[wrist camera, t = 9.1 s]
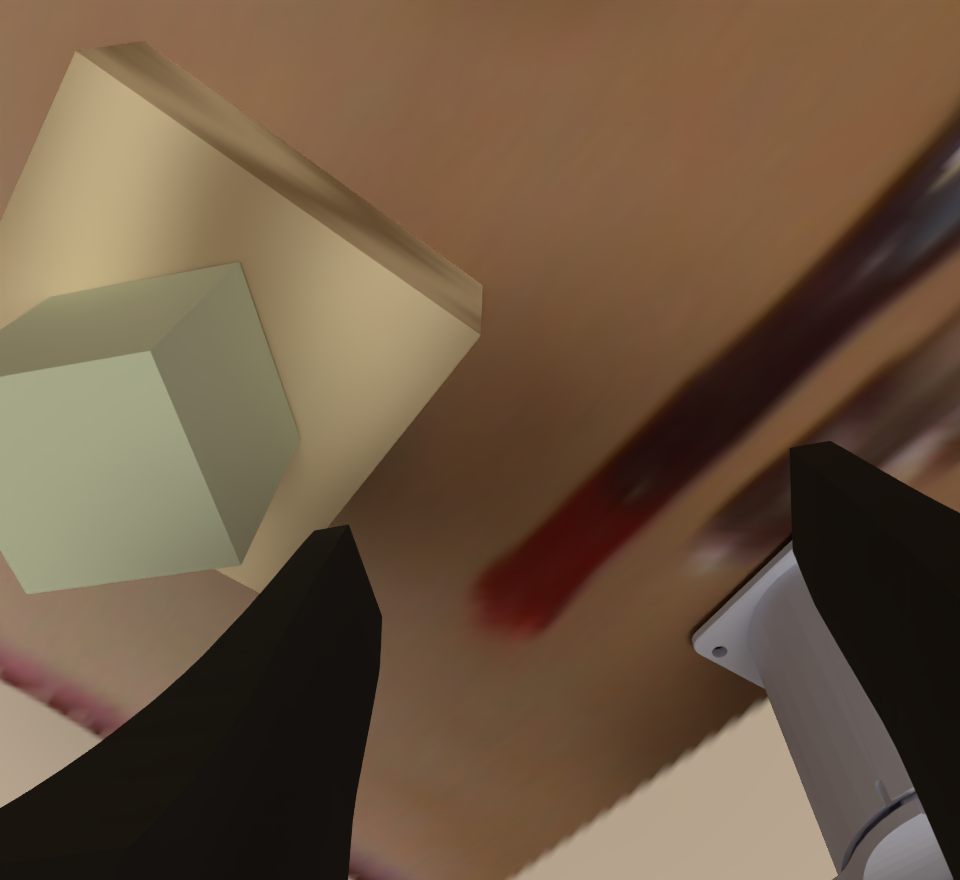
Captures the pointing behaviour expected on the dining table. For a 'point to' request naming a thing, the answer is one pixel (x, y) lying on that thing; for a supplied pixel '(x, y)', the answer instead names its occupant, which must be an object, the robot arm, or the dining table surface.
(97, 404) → the sage block
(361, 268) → the bamboo box
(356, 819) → the dining table surface
